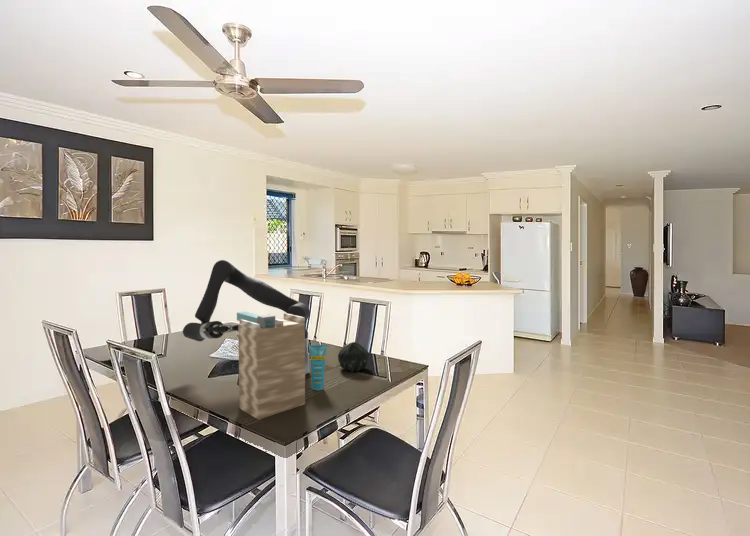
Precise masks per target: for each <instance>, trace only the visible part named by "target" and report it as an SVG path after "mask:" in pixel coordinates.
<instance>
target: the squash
mask: <svg viewBox="0 0 750 536" xmlns="http://www.w3.org/2000/svg"><path fill="white" fill-rule="evenodd" d="M337 358H338V359H337V360H338V364H339V366H340V367H341V368H342V369H344V370H346V371H349V372H354V371H355V372H356V371H357V372H359V371H362V370H364V369H365V368H366V367H367V365H368V363H369V362H368V361H369V353H368V350H367V349H366V348H365V347H364V346H363V345H361V344H360V343H358V342H357V341H352V342H349V343H347V344H346V345H345V346H343V347H341V349H340V350H339V352H338V355H337Z"/></svg>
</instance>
